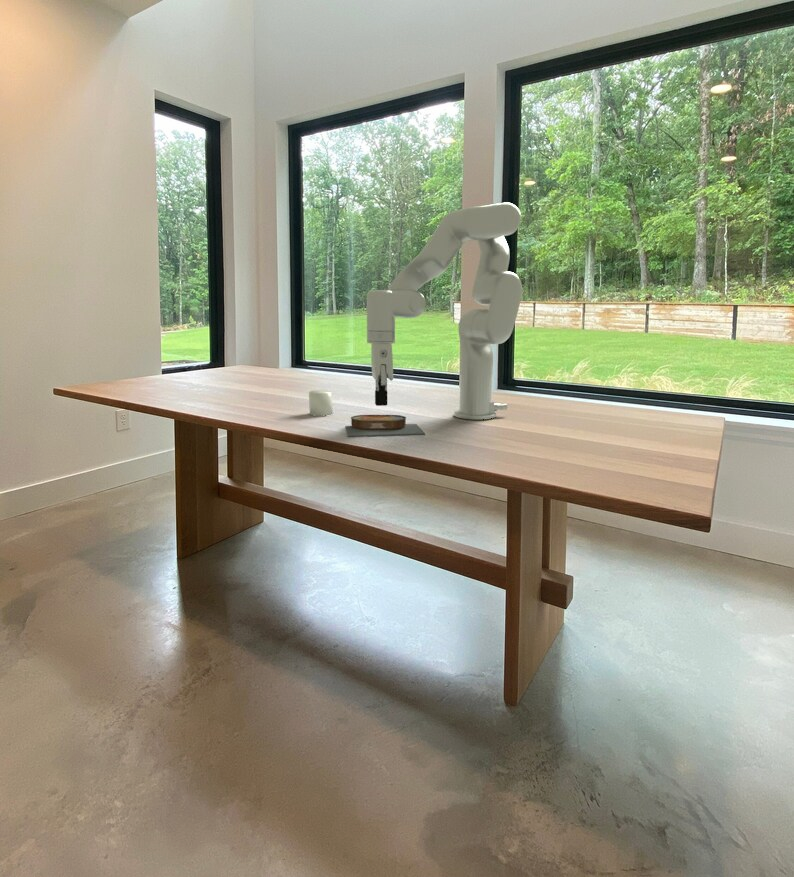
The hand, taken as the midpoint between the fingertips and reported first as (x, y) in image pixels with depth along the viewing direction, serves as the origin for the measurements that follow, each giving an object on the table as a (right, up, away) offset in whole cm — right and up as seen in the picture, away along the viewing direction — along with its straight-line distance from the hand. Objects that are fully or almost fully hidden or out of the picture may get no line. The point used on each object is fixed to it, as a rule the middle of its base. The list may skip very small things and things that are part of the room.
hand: (381, 404), depth 162 cm
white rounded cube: (-19, -2, +19) cm, 27 cm away
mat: (+1, -7, -4) cm, 8 cm away
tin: (-1, -4, +4) cm, 6 cm away
